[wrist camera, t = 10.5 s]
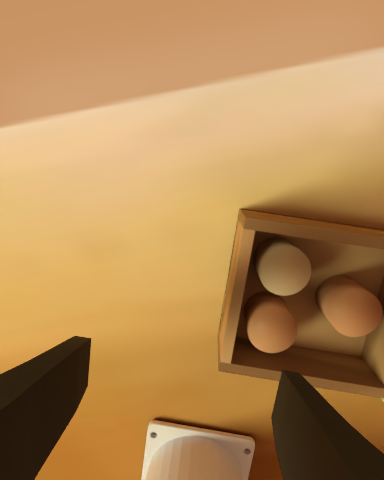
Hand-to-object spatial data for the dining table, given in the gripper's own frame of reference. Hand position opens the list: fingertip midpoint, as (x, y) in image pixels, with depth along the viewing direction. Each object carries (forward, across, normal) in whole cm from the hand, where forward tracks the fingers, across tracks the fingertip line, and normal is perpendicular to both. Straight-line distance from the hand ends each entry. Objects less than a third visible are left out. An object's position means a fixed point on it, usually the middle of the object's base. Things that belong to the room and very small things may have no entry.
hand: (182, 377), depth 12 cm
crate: (+10, -7, -1) cm, 12 cm away
